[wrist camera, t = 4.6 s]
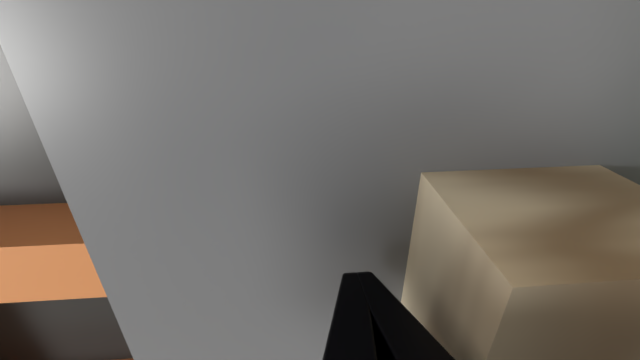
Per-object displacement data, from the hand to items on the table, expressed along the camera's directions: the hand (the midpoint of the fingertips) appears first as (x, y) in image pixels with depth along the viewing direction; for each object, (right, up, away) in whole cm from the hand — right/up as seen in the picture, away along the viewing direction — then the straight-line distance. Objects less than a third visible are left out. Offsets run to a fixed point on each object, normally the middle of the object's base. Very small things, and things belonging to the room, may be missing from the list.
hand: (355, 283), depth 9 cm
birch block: (+4, +1, +1) cm, 4 cm away
